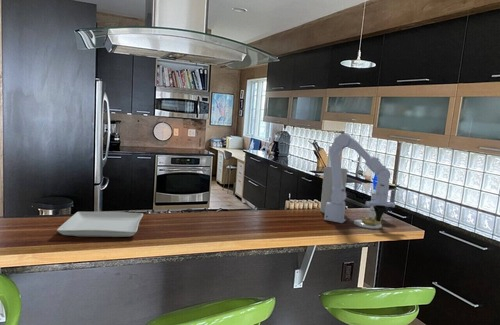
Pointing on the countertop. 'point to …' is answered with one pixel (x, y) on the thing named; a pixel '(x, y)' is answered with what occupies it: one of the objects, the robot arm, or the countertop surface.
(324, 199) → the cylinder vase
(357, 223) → the cap plate
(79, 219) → the square plate
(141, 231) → the countertop surface
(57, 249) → the countertop surface
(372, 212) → the syrup box
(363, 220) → the gold lugged disc
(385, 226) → the countertop surface
